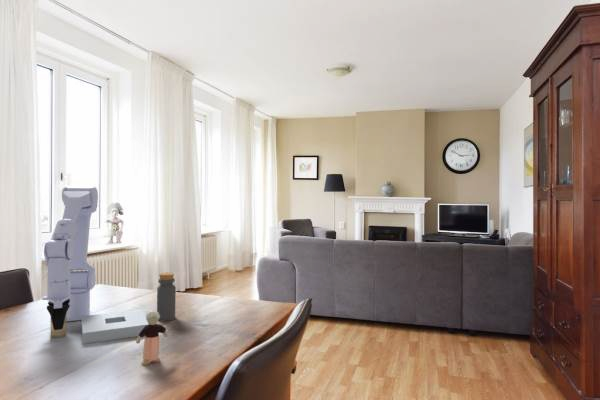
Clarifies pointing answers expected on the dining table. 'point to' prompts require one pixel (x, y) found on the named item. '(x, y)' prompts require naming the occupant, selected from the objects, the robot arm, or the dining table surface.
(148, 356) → the grandmother figurine
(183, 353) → the dining table surface
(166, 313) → the bottle
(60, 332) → the peg
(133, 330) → the socket block
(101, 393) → the dining table surface
